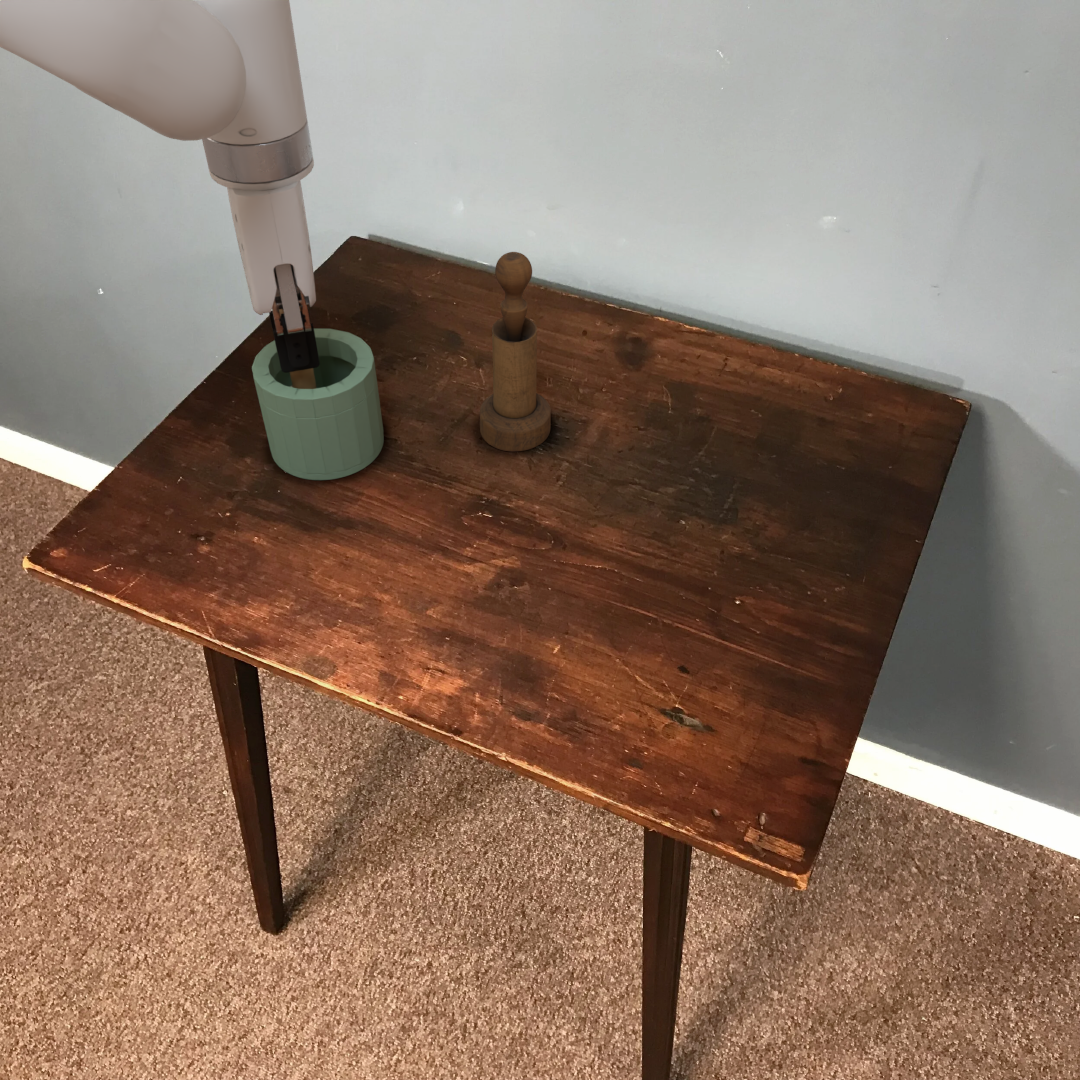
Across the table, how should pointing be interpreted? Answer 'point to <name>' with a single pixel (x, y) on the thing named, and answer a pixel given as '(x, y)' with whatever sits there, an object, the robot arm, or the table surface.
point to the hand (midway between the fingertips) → (298, 357)
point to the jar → (322, 409)
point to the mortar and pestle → (514, 368)
